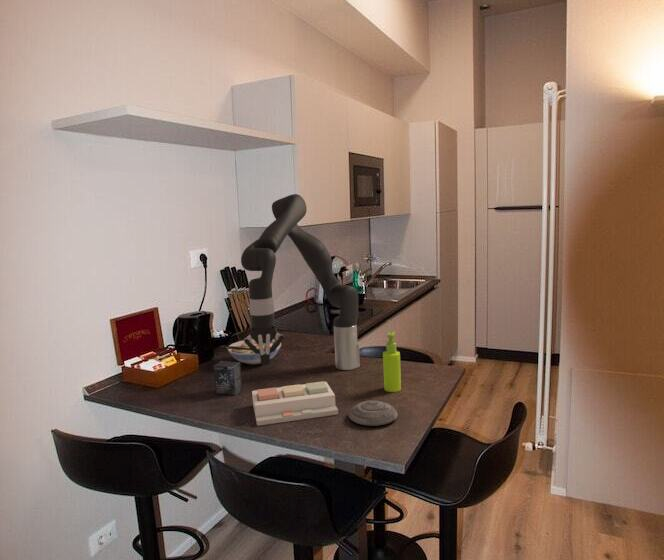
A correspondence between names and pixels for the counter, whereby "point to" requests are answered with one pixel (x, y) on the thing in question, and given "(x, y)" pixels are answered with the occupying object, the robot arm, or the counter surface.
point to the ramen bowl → (247, 352)
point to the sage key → (316, 388)
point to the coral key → (267, 394)
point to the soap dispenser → (391, 366)
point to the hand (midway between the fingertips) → (265, 365)
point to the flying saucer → (372, 413)
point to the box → (227, 378)
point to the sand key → (292, 391)
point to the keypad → (294, 407)
